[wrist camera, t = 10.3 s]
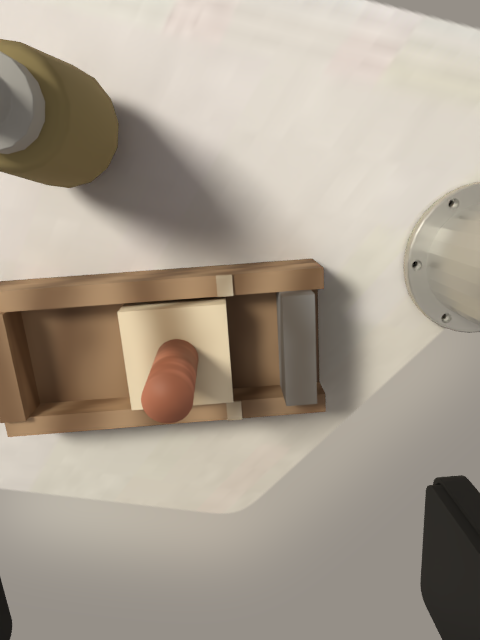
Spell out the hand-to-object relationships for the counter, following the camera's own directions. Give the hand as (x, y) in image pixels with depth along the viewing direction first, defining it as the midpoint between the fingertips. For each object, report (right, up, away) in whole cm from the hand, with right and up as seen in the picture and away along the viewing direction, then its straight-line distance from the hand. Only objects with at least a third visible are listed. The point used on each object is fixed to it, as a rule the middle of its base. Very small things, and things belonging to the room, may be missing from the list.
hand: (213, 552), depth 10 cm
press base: (-6, +3, +30) cm, 31 cm away
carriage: (-4, +3, +28) cm, 29 cm away
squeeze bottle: (-12, +19, +26) cm, 34 cm away
